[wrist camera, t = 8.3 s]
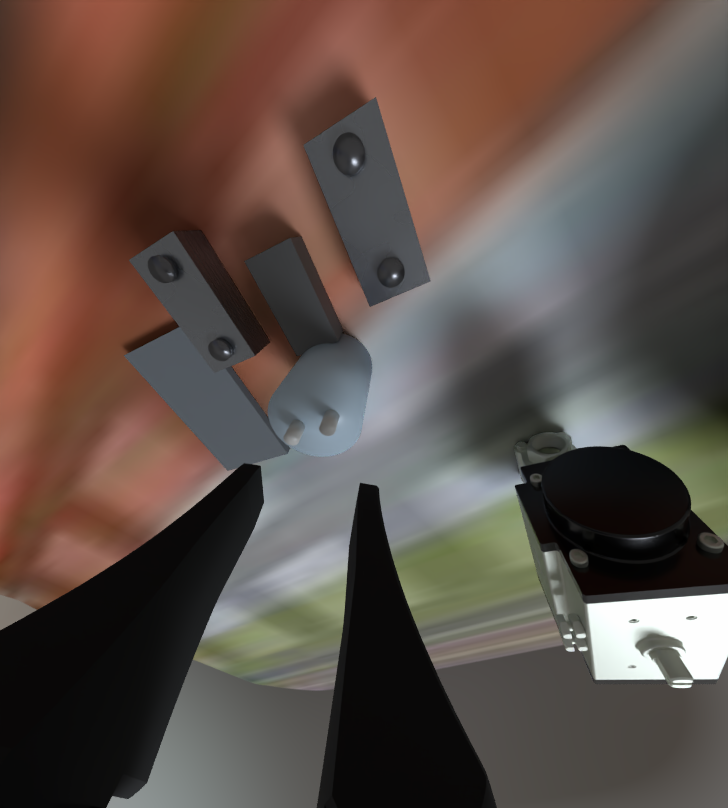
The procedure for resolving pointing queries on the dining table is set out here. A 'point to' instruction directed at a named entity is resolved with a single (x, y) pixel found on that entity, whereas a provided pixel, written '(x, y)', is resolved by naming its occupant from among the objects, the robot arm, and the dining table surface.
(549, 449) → the pneumatic valve
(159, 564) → the robot arm
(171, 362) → the grey flat plate
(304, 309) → the plug
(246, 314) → the channel
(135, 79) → the dining table surface
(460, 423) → the dining table surface
